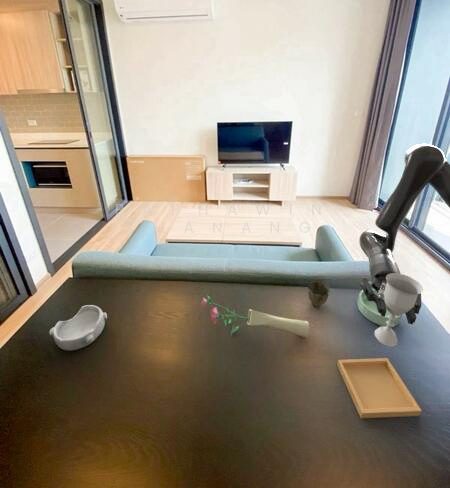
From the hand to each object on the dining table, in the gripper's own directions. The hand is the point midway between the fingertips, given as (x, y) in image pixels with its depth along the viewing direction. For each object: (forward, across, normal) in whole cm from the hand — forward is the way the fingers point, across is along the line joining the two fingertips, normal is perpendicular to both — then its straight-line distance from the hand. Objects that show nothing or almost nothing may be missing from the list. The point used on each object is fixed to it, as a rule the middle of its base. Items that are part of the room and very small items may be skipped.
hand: (397, 317), depth 58 cm
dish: (+20, -87, +24) cm, 92 cm away
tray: (+2, 0, +24) cm, 24 cm away
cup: (-21, -17, +24) cm, 36 cm away
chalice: (-3, 0, +10) cm, 10 cm away
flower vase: (-2, -35, +24) cm, 43 cm away
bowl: (-27, +4, +24) cm, 36 cm away
